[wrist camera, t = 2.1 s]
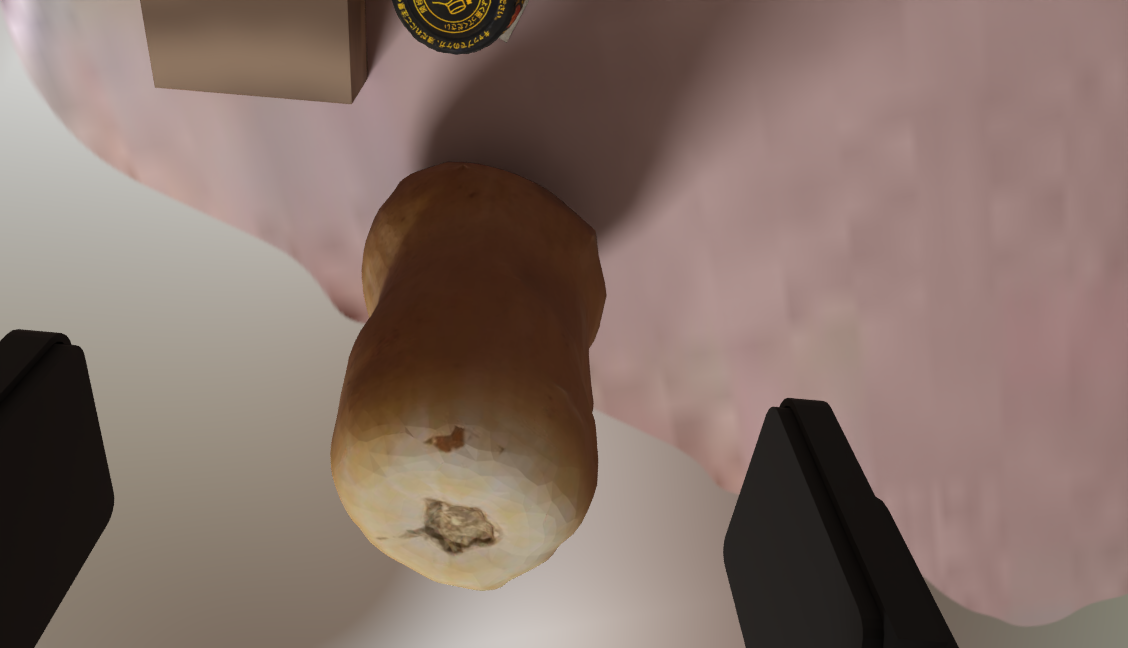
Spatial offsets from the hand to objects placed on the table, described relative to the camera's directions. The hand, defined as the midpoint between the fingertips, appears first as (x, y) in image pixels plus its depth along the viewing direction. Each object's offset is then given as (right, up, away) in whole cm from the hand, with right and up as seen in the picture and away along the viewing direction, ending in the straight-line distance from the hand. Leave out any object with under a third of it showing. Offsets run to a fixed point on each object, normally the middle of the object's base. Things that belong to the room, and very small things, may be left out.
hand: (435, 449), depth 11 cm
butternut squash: (-3, +8, +41) cm, 42 cm away
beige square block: (-14, +20, +33) cm, 41 cm away
